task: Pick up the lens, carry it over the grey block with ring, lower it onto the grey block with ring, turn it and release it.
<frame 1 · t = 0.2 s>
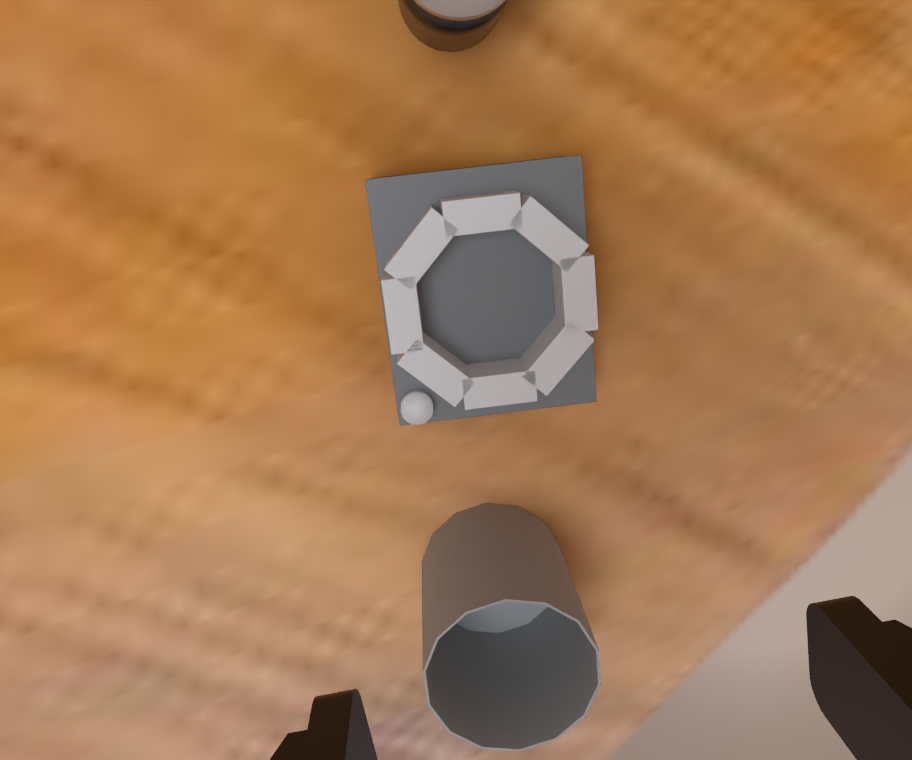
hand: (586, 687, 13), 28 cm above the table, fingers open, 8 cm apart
cup: (491, 565, 44), on the table
grey block with ring: (479, 283, 39), on the table
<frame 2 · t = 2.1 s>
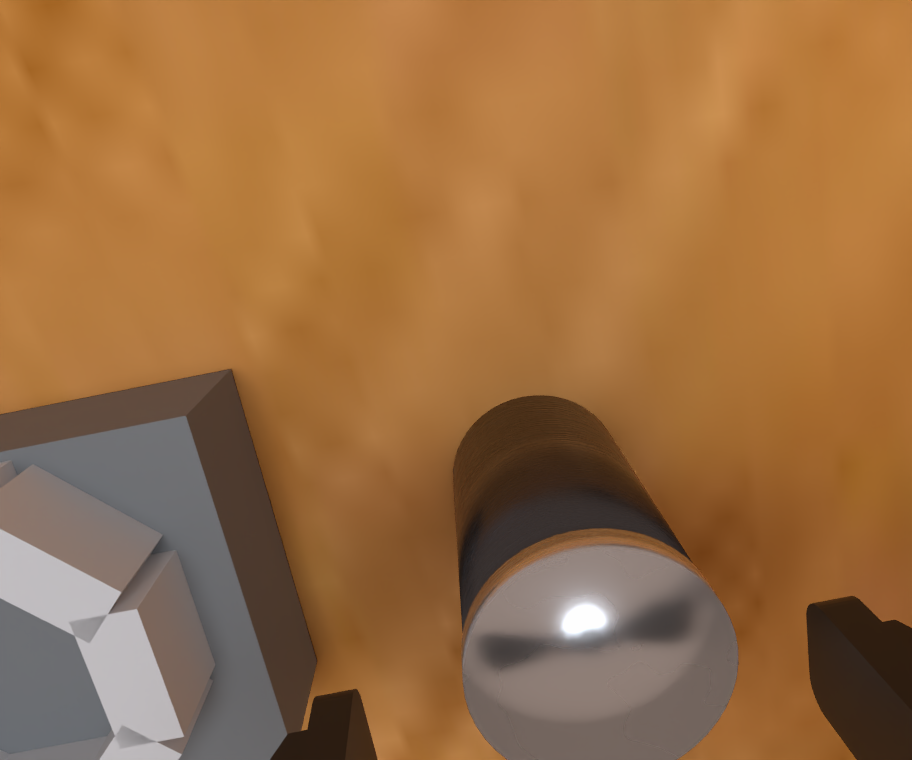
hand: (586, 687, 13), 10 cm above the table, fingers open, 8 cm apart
lens: (536, 474, 22), on the table
grey block with ring: (85, 561, 23), on the table
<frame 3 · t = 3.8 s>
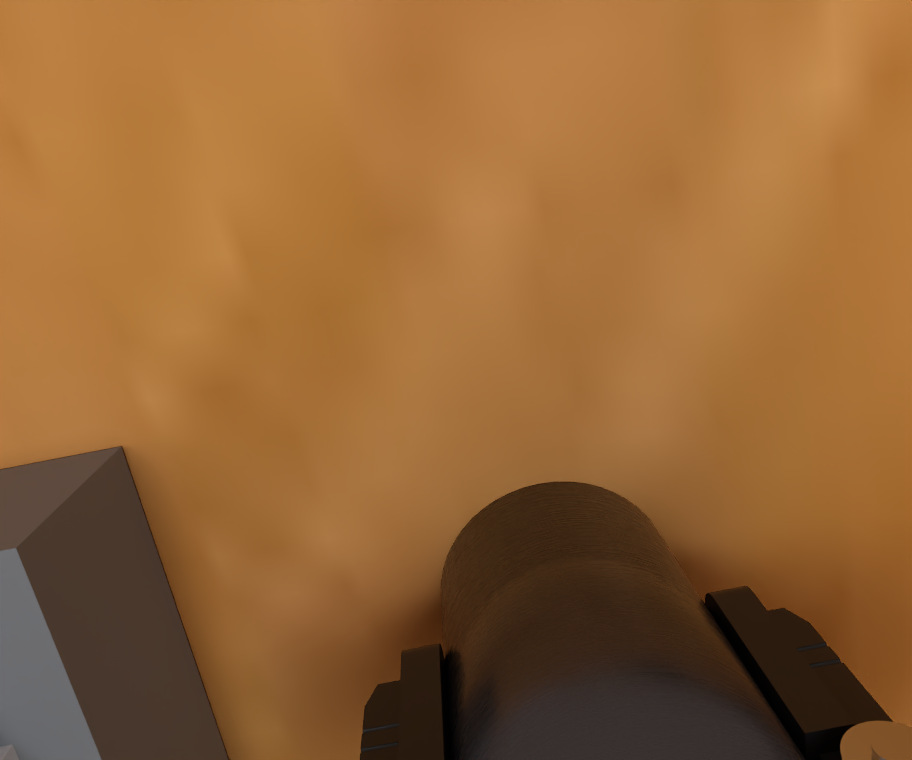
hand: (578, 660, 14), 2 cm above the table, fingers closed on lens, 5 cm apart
lens: (556, 587, 16), on the table, touching gripper
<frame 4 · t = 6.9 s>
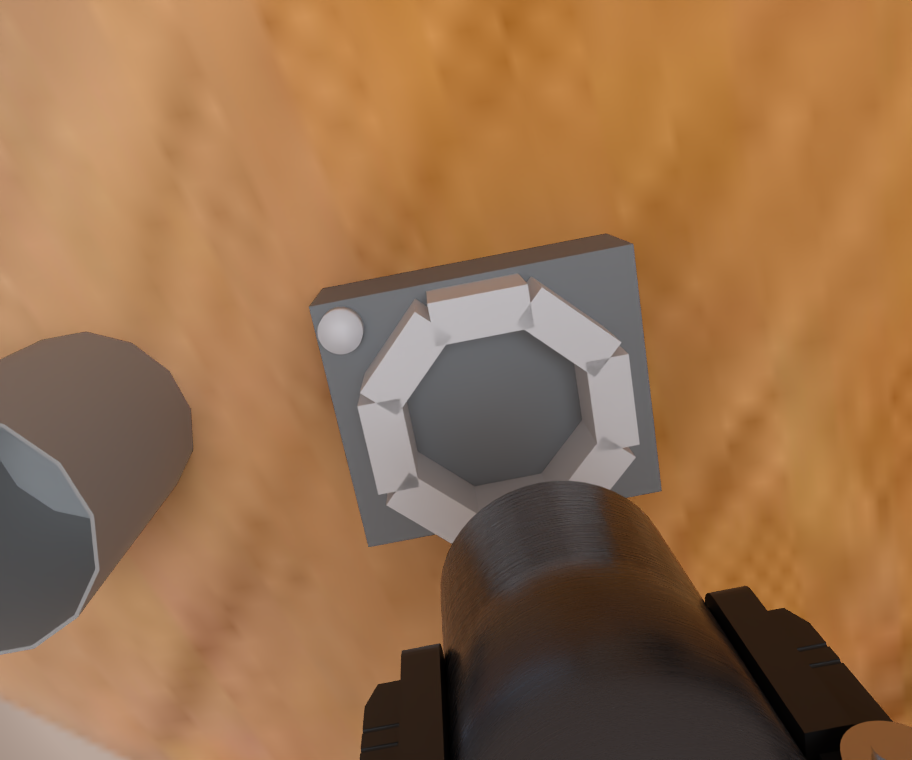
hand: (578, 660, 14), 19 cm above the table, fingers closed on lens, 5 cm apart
cup: (97, 425, 32), on the table
lens: (555, 586, 16), point 17 cm above the table, touching gripper
grey block with ring: (484, 374, 32), on the table
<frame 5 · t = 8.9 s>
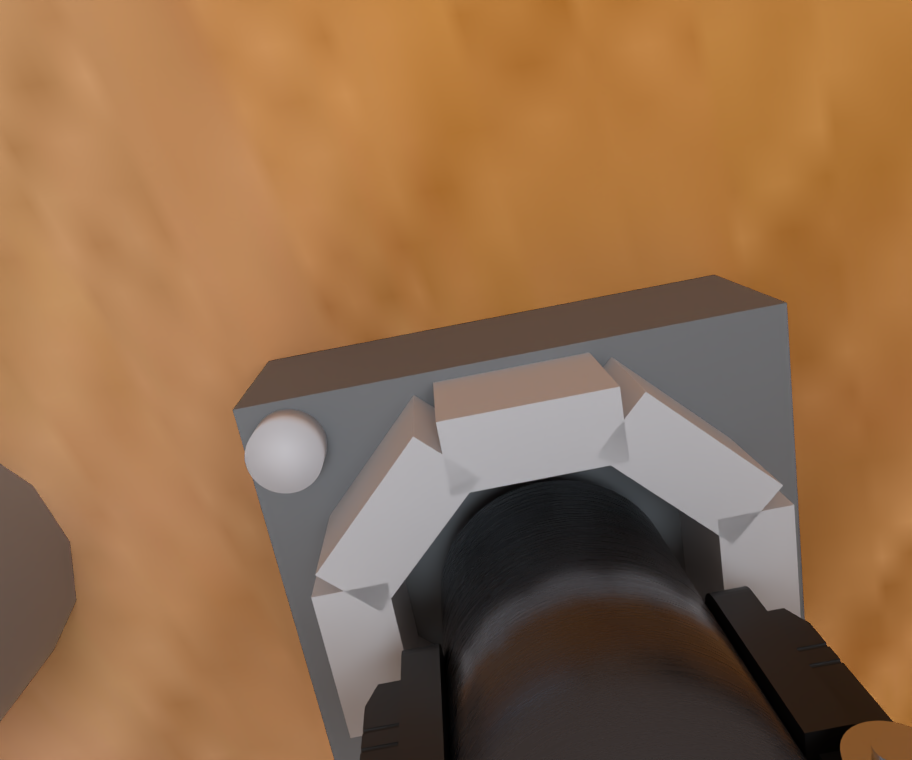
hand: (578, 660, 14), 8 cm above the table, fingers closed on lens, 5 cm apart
lens: (555, 586, 16), point 5 cm above the table, touching gripper
grey block with ring: (521, 487, 21), on the table
when the fingers open (8 cm above the table, at t = 10.4 s): lens stays where it is, resting on grey block with ring.
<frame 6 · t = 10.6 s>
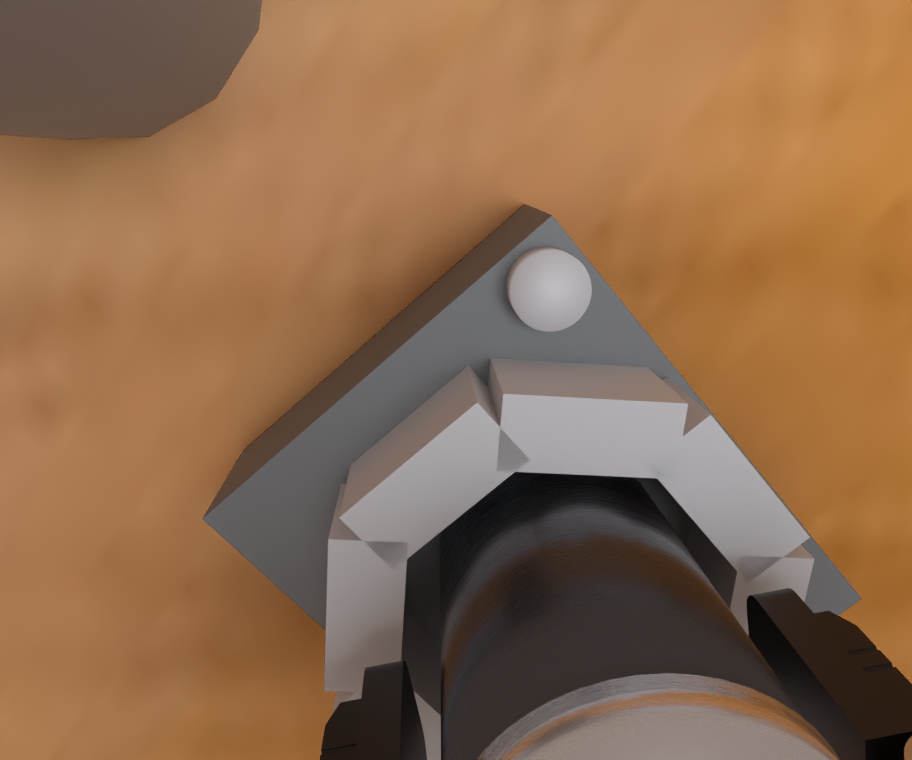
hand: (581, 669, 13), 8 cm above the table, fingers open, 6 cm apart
lens: (549, 545, 17), point 4 cm above the table, touching grey block with ring
grey block with ring: (522, 487, 21), on the table
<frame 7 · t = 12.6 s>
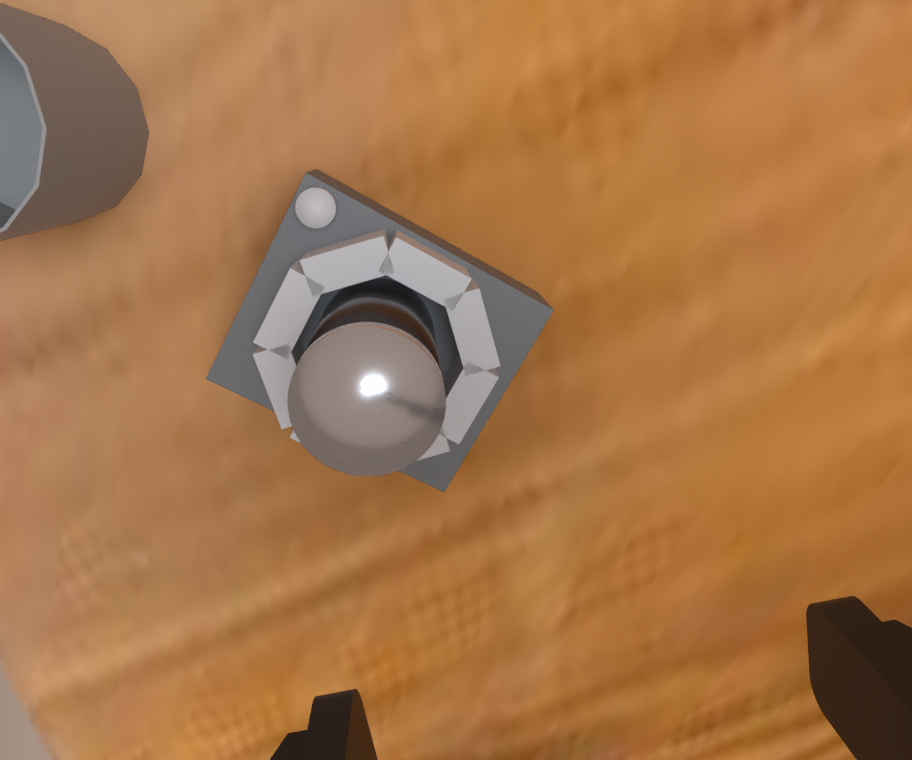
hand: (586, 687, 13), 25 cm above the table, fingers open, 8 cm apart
cup: (52, 125, 33), on the table
lens: (377, 334, 32), point 4 cm above the table, touching grey block with ring
grey block with ring: (382, 323, 36), on the table
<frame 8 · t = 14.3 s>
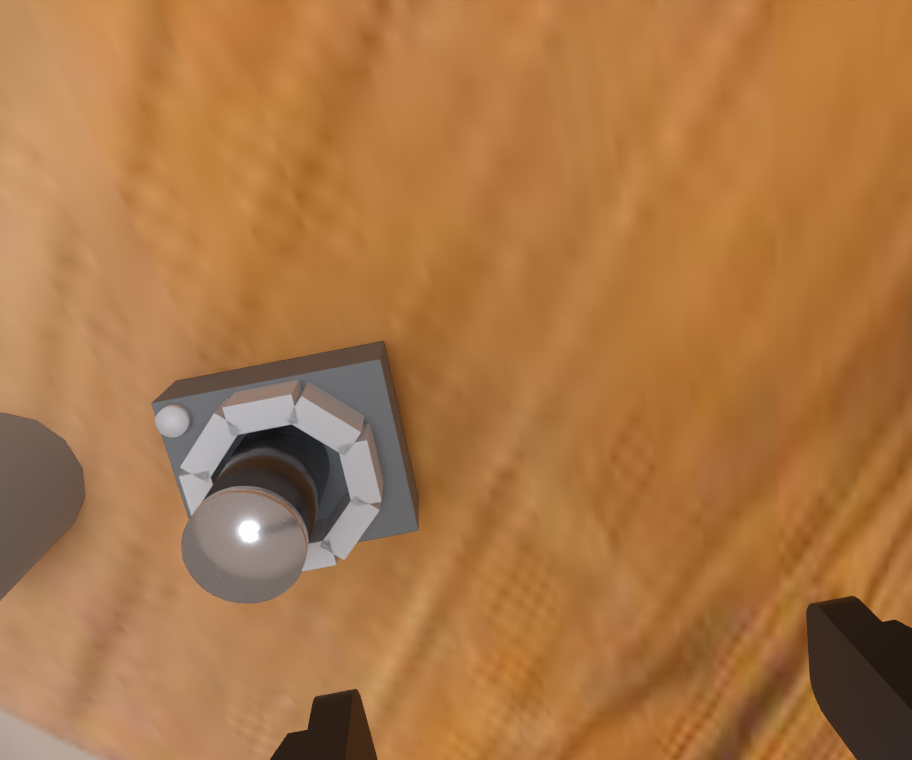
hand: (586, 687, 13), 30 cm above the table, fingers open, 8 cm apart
cup: (13, 479, 43), on the table
lens: (282, 464, 39), point 4 cm above the table, touching grey block with ring
grey block with ring: (301, 441, 43), on the table
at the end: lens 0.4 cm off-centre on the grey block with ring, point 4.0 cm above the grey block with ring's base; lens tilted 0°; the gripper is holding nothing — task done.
